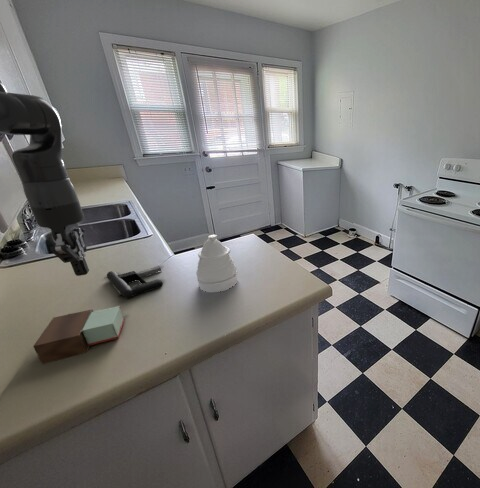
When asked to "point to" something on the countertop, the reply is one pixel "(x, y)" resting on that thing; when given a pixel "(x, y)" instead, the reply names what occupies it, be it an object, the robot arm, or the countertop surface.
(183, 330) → the countertop surface
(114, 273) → the door handle
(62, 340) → the stand
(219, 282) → the honey pot
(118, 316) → the mint and red box
